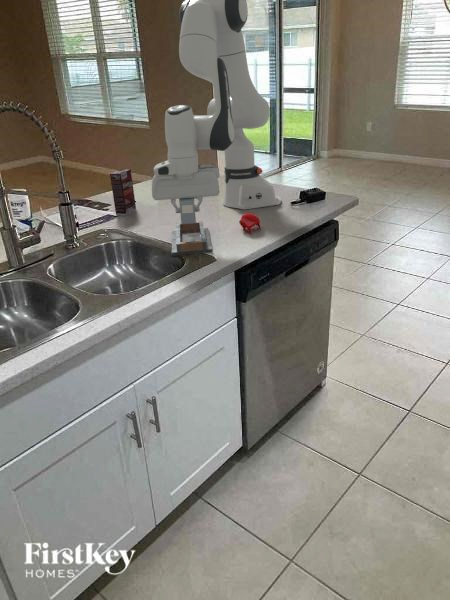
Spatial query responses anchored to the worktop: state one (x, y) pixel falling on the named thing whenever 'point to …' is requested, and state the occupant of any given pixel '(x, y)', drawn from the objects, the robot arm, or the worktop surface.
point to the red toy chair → (249, 221)
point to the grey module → (187, 210)
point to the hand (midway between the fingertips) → (187, 211)
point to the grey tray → (190, 239)
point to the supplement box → (123, 192)
